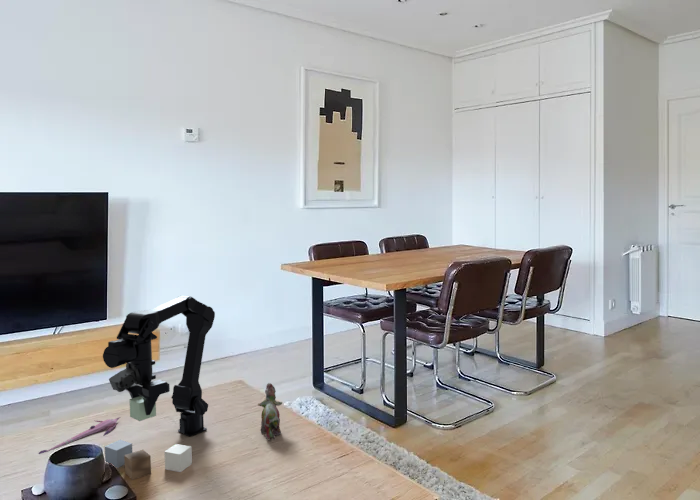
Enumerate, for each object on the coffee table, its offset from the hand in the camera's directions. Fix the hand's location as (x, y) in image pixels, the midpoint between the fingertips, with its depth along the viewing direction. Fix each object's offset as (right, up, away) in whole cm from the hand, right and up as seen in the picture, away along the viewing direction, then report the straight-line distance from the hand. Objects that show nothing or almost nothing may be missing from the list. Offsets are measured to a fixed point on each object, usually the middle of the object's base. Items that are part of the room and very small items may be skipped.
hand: (143, 412), depth 155 cm
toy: (-24, -12, +15) cm, 31 cm away
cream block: (+11, -14, -4) cm, 18 cm away
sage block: (0, -1, 0) cm, 1 cm away
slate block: (-6, -13, -1) cm, 15 cm away
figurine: (+33, -12, +17) cm, 39 cm away
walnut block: (+2, -14, -8) cm, 16 cm away
